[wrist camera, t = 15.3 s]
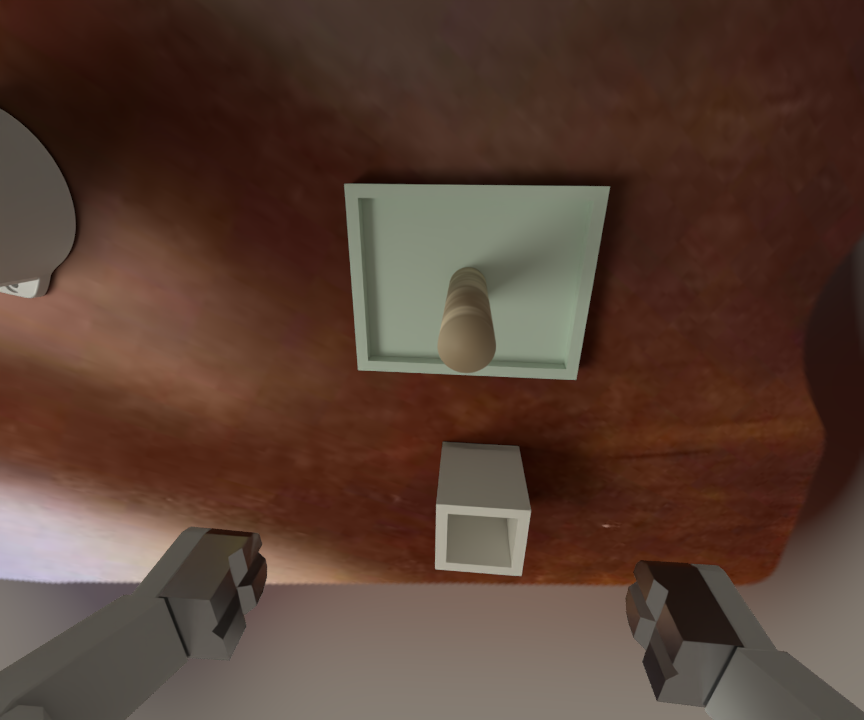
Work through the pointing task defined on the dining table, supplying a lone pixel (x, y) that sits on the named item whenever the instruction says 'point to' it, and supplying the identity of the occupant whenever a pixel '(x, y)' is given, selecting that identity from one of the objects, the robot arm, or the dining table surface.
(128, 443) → the dining table surface
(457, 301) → the dowel
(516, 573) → the cup
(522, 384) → the dining table surface
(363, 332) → the tray
